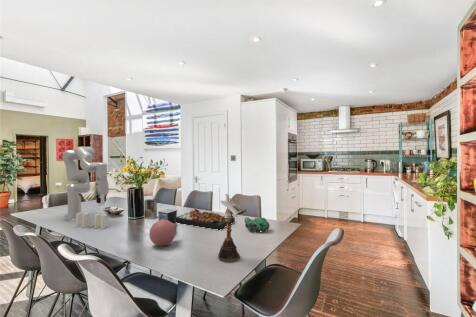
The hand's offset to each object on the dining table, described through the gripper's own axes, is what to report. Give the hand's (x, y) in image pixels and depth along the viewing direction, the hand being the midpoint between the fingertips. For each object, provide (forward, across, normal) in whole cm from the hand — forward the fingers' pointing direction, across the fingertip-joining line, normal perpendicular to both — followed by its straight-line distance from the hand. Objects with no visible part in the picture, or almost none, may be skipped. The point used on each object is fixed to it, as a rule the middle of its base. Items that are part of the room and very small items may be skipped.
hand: (101, 202), depth 184 cm
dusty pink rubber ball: (+19, -25, -67) cm, 74 cm away
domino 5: (+18, -5, -7) cm, 20 cm away
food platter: (+19, +26, -75) cm, 82 cm away
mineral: (+18, +12, -120) cm, 122 cm away
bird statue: (+18, -37, -112) cm, 120 cm away
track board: (+19, -5, +4) cm, 20 cm away
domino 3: (+18, -5, -2) cm, 19 cm away
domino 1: (+19, -5, +15) cm, 24 cm away
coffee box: (+19, +31, -24) cm, 44 cm away
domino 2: (+18, -5, +10) cm, 21 cm away
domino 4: (+3, 0, 0) cm, 3 cm away
